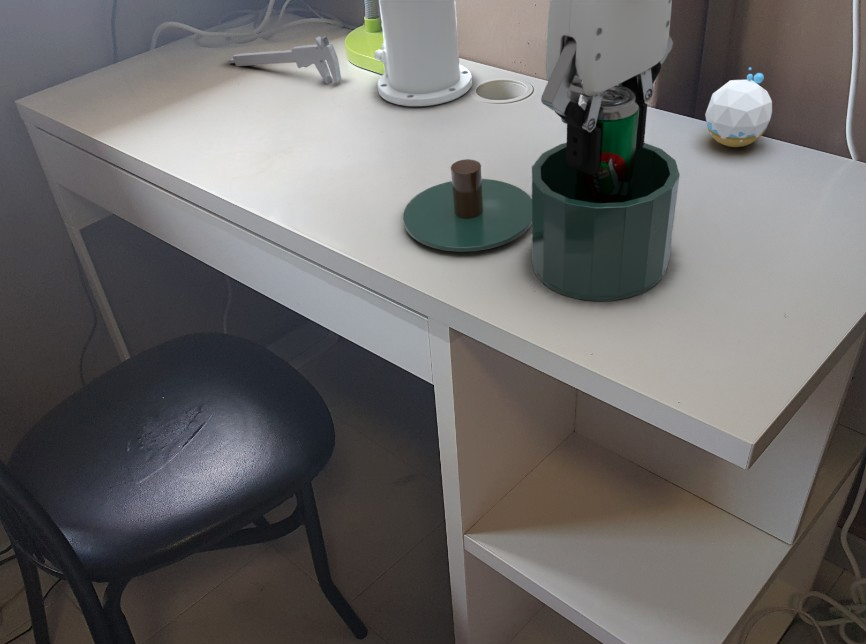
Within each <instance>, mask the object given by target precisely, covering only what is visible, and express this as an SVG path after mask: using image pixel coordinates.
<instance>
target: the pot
mask: <svg viewBox="0 0 866 644" xmlns="http://www.w3.org/2000/svg"><path fill="white" fill-rule="evenodd" d="M566 145H567V142H563V143H560V144H558V145H556V146H554V147H552V148H550V149H548V150H546V151H545V152H542V153H541V154H540V156H539V157H538V158H537V159H536V160H535V162H534V163H533V164H532V165H531V199H532V225H531V257H532V258H531V261H532V264H531V265H532V269H533V272H534V274H535V276H536V278H537V279H538V280H539V281H540V282H542V284H543V285H545V287H547V288H549V289H550V290H552V291H554V292H556V293H558V294H560V295H563V296H566V297H568V298H573V299H577V300H583V301H591V302H608V301H609V302H610V301H611V302H612V301H619V300H625V299H629V298H632V297H636V296H638V295H641V294H643V293H645V292H647V291H649V290H650V289H652V288H653V287H655V286H656V285H657V284H658V283H660V281H661V280H662V279H663V278H664V276H665V274H666V271H667V269H668V268H667V267H668V264H669V262H670V255H671V247H672V238H673V229H674V222H675V215H676V206H677V200H678V199H677V198H678V191H679V183H680V172H679V168H678V164H677V161H676V159H675V158H673V157H672V156H671V155H670V154H668V153H667V152H666V151H665V150H663V149H662V148H660V147H657V146H654V145H652V144H649V143H647V142H644V146H643V147H642V148H640V149H636V155H635V166H634V178H633V190H632V200H630V201H626V202H619V203H592V202H586V201H580V200H574V197H575V168H573V167H571V166H569V165H568V164H567V162H566Z"/></svg>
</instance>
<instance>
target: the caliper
mask: <svg viewBox="0 0 866 644" xmlns="http://www.w3.org/2000/svg"><path fill="white" fill-rule="evenodd" d="M314 41H315V44H305V45H296V46H294V47H292V48H291V49H285V50H270V51H257V52H245V53H236V54H234V55H233V56H232V58H231V59H228V64H234V65H235V66H236V67H246V66H247V67H249V66H261V65H275V64H276V65H277V64H289V63H290V64H291V63H296V67H297V68H298V69H301V68H308V67H311V66H312V65H314V66H315V68H316V70H317V71H318V74H319V75H320V76H321V78H322V80H323V82H324V83H325V84H327V85H329V84H331V82H334V84H337V83H338V82H340V81H341V80H342V74H341V68H340V61H339V57H338V55H337V52H336V49H335V47H334V44H333V43H330V42H329V38H328V36H327V35H324V36H323V37H322V36H320V35H319V36H317V37H315V38H314Z"/></svg>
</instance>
